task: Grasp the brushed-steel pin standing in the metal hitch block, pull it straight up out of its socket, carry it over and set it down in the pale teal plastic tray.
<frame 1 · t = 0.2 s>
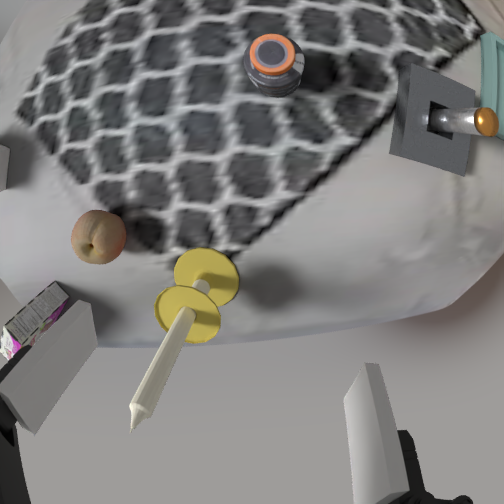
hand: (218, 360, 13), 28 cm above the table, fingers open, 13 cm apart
pin: (453, 120, 24), in the hitch block
candy bar box: (56, 301, 50), on the table
pill bottle: (276, 76, 31), on the table
fruit: (113, 227, 42), on the table
candle: (206, 277, 43), on the table
hitch block: (427, 120, 31), on the table
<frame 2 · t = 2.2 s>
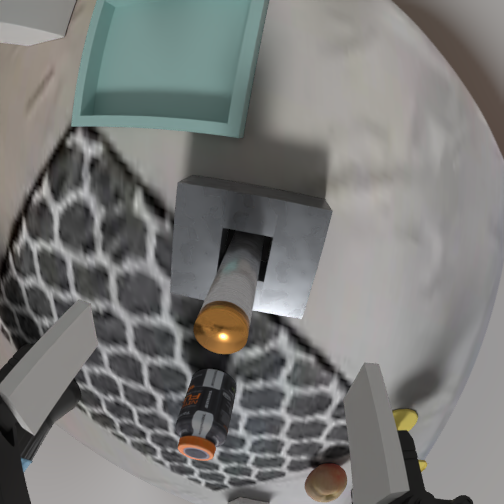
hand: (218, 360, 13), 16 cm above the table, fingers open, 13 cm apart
tray: (169, 56, 21), on the table
pin: (238, 272, 21), in the hitch block
pill bottle: (214, 381, 36), on the table
soap bottle: (248, 502, 57), on the table
milk carton: (54, 16, 19), on the table
fruit: (325, 465, 44), on the table
candle: (389, 425, 38), on the table
hitch block: (249, 238, 27), on the table
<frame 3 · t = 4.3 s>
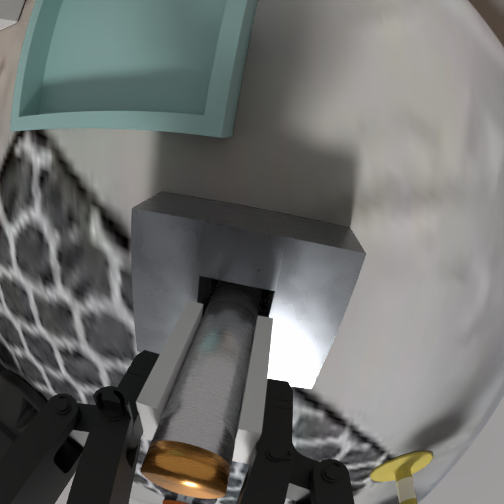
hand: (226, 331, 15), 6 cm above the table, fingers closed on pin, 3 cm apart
tray: (131, 28, 13), on the table
pin: (221, 350, 13), in the hitch block, touching gripper
pill bottle: (204, 430, 28), on the table
milk carton: (11, 1, 11), on the table
candle: (401, 465, 30), on the table
hitch block: (241, 280, 20), on the table
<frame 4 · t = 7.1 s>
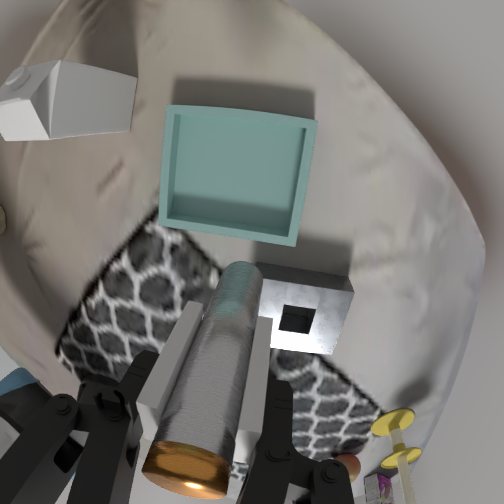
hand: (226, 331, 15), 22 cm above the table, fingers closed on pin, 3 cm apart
tray: (235, 170, 33), on the table
pin: (221, 350, 13), point 24 cm above the table, touching gripper
candy bar box: (377, 477, 61), on the table
milk carton: (112, 104, 31), on the table
fruit: (342, 455, 55), on the table
candle: (392, 421, 49), on the table
hitch block: (296, 302, 39), on the table
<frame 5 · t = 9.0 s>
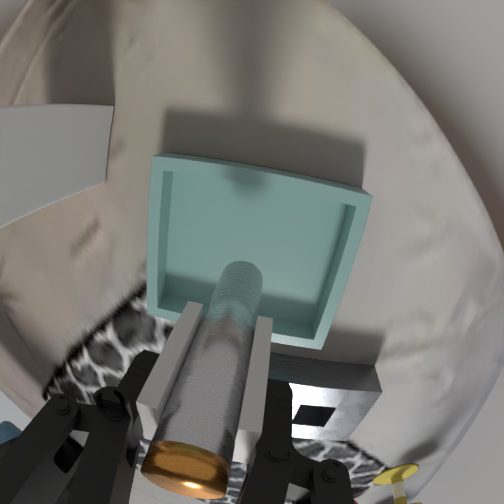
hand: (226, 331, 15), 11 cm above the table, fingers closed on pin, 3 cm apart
tray: (249, 248, 25), on the table
pin: (221, 350, 13), point 13 cm above the table, touching gripper
milk carton: (82, 141, 23), on the table
fruit: (342, 498, 48), on the table
candle: (395, 473, 41), on the table
hitch block: (311, 389, 31), on the table
when the fingers open (7 cm above the table, at t = 10.2 s): pin drops 1 cm, resting on tray.
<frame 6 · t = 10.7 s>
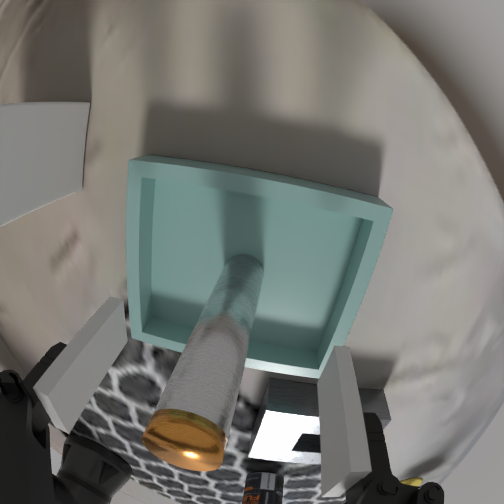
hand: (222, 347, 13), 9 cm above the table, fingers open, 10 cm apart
tray: (245, 266, 21), on the table
pin: (222, 333, 14), in the tray, point 8 cm above the table
pill bottle: (265, 476, 36), on the table
milk carton: (58, 143, 19), on the table
candle: (399, 487, 38), on the table
hitch block: (314, 414, 28), on the table
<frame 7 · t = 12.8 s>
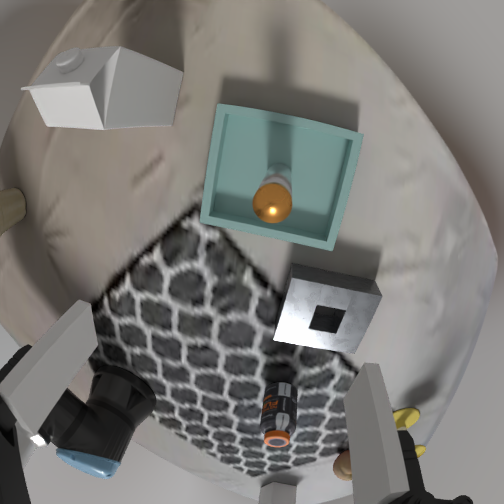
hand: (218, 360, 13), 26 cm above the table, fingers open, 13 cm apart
tray: (279, 173, 34), on the table
pin: (276, 185, 27), in the tray, point 8 cm above the table
pill bottle: (281, 390, 49), on the table
soap bottle: (278, 486, 71), on the table
milk carton: (154, 96, 32), on the table
flower pot: (18, 203, 41), on the table
fruit: (348, 451, 57), on the table
candle: (398, 420, 51), on the table
hitch block: (324, 302, 40), on the table
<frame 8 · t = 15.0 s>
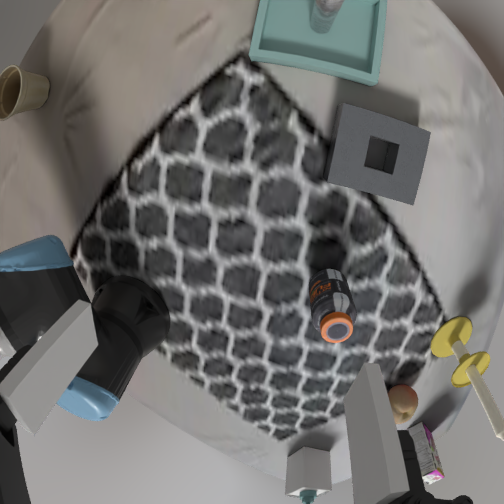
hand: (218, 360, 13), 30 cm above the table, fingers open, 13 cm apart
tray: (320, 27, 29), on the table
pin: (327, 5, 22), in the tray, point 8 cm above the table
candy bar box: (420, 430, 58), on the table
pill bottle: (327, 284, 44), on the table
soap bottle: (308, 454, 65), on the table
flower pot: (40, 92, 35), on the table
fruit: (395, 389, 52), on the table
candle: (451, 336, 45), on the table
hitch block: (372, 152, 35), on the table
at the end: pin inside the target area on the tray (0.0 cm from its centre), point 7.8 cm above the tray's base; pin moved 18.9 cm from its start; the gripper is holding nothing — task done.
